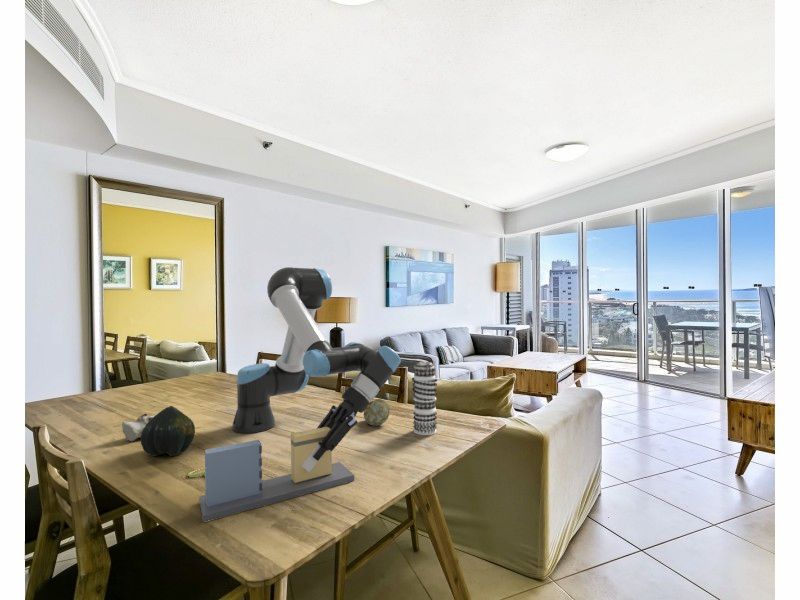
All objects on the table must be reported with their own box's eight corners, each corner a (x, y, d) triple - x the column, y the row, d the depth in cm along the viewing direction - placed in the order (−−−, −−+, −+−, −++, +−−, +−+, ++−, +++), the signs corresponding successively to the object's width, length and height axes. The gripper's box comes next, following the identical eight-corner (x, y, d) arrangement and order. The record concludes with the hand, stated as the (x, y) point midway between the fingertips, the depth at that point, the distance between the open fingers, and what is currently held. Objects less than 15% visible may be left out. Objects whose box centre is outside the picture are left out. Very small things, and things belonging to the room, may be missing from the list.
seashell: (391, 419, 156) (391, 394, 156) (388, 428, 145) (387, 402, 145) (365, 419, 157) (365, 394, 157) (360, 428, 146) (359, 401, 146)
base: (203, 522, 84) (203, 515, 84) (199, 502, 93) (199, 496, 93) (354, 480, 103) (354, 474, 103) (339, 467, 112) (339, 461, 112)
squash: (156, 449, 112) (184, 402, 122) (121, 445, 117) (150, 400, 127) (189, 467, 122) (213, 422, 131) (155, 462, 127) (180, 419, 137)
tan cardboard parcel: (294, 483, 98) (294, 436, 98) (291, 478, 101) (290, 433, 101) (332, 473, 104) (331, 429, 104) (327, 469, 106) (327, 426, 106)
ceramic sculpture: (117, 414, 136) (164, 407, 148) (115, 439, 136) (162, 430, 148) (127, 420, 130) (175, 412, 141) (126, 446, 129) (174, 436, 141)
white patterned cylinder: (430, 437, 135) (429, 365, 135) (407, 432, 140) (407, 363, 140) (442, 429, 143) (441, 362, 143) (420, 425, 148) (419, 360, 148)
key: (219, 484, 103) (219, 476, 103) (183, 478, 106) (183, 470, 106) (239, 473, 109) (239, 465, 110) (204, 468, 113) (204, 460, 113)
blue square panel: (206, 507, 88) (206, 454, 88) (205, 501, 90) (204, 449, 90) (262, 492, 94) (261, 443, 94) (259, 487, 97) (258, 439, 97)
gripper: (382, 408, 104) (323, 486, 95) (356, 396, 118) (303, 463, 109) (364, 391, 101) (302, 470, 93) (340, 380, 115) (284, 448, 106)
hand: (302, 466), depth 101 cm, fingers closed on tan cardboard parcel, 3 cm apart
